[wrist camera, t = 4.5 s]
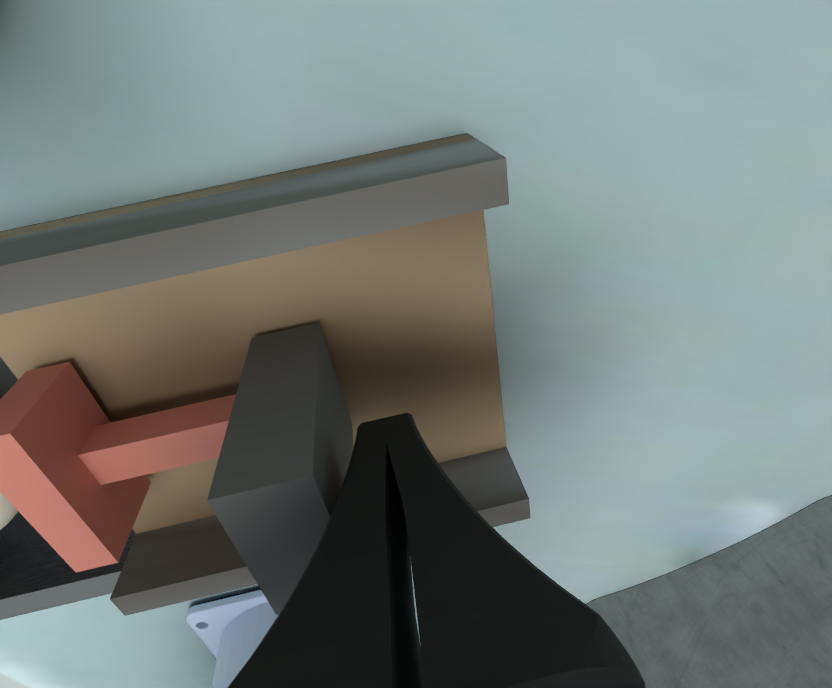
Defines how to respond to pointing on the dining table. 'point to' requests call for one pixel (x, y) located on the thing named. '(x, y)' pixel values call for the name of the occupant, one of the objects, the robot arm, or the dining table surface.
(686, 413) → the dining table surface
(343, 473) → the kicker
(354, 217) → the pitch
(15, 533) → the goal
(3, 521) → the ball
